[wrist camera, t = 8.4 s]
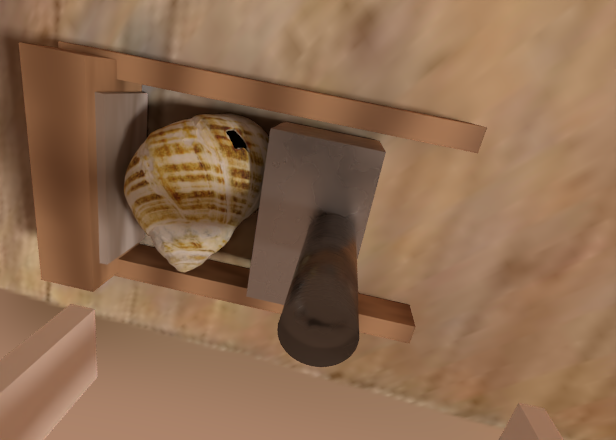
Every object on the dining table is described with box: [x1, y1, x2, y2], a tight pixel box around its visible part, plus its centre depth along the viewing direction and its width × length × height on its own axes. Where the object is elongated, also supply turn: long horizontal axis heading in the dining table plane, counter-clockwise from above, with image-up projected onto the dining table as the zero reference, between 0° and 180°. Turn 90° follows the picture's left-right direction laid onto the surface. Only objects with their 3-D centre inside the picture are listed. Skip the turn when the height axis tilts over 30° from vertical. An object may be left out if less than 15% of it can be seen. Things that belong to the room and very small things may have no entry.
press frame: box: [19, 41, 487, 343], centre depth 26 cm, size 28×17×6 cm, turn 79°
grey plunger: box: [246, 122, 386, 367], centre depth 21 cm, size 7×12×15 cm, turn 169°
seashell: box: [124, 113, 269, 272], centre depth 25 cm, size 10×10×10 cm
